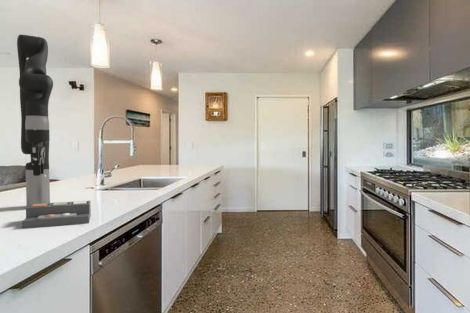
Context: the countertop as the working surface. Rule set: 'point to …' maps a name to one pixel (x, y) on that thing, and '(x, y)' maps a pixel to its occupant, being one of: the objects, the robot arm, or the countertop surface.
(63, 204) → the key sage
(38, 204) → the key terracotta
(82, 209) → the keypad
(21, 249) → the countertop surface
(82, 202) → the key cream
